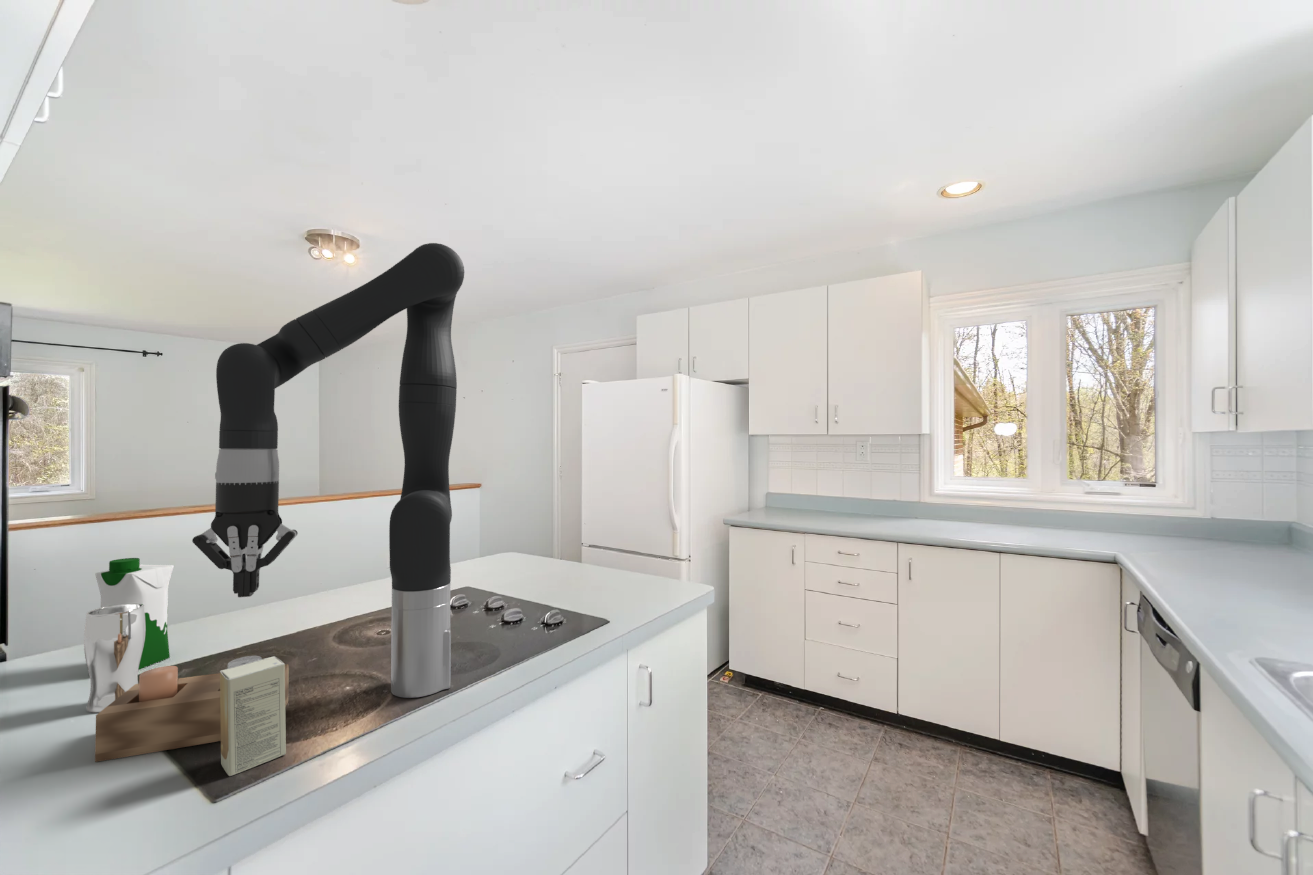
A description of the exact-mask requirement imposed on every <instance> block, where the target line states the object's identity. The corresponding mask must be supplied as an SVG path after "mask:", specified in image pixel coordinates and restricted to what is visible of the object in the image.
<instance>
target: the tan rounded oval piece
mask: <svg viewBox="0 0 1313 875" xmlns="http://www.w3.org/2000/svg"><path fill="white" fill-rule="evenodd" d="M178 671H179V667H178V666H175V665H164V666H159V667H155V668H151V669H147V670H145V671H143V672H141V673H140V674H138V676H139V678H138V684H139V702H144V701H151V700H158V699H165V698H172V697H174V696H175V695H176V694H177V684H178V678H179V677H178V676H179V675H178V674H179V673H178Z"/></svg>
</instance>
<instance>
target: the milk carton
mask: <svg viewBox="0 0 1313 875" xmlns="http://www.w3.org/2000/svg"><path fill="white" fill-rule="evenodd" d="M140 563H141V562H140V558H138V557H127V558H118V559H113V560H110V561H109V562H108V570H104V571H103V570H102V571H100V572H95V579H96V582H97V586H98V590H99V594H100V608H102V607H106V606H112V605H118V604H128V603H141V604H144V612H145V624H146V632H145V642H144V647H143V652H142V656H141V660H140V664H139V669H138V671H139V670H142V669H145V668H146V667H149V666H152V665H155V664H157V663H160V662H162V661H165V660H167V659H169V658H170V657H171V656H170V654H171V653H170V644H169V634H168V618H169V617H168V612H169V605H168V603H169V602H168V601H169V587H170V586H169V584H170V581H171V577H172V574H173V570H174V568H175V565H174V564H142V563H141V564H140Z"/></svg>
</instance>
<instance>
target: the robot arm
mask: <svg viewBox="0 0 1313 875" xmlns="http://www.w3.org/2000/svg"><path fill="white" fill-rule="evenodd" d="M464 279H465V266H464V263H463V260H462V258H461V257H460V255H459V253H457V252H456V251H455V250H454V249H453V248H451V247H449V246H448V245H445V244H441V243H437V242H429V243H424V244H422V245H420V246H418V247H416V248H415V249H414V250H412V252H410V253H408V255H405V257H403V259H401V260H399V261H398V262H397V263H395V264H394V265H393V266H391V267H390V268H389V269H387V270H385V271H384V272H383V273H381V274H380V275H378V276H376V277H374V278H373V279H371V280H370V281H368V282H366V283H364V284H361V286H359V287H357V288H355V289H353V290H350V291H349V292H347V293H345V294H343V295H341V296H339V297H336V298H335V299H333V300H330V301H328V302H326V303H325V304H322V305H320V306H318V307H316V308H315V309H314V308H313V310H310V311H308V312H306V313H304V314H302V315H300V316H298V317H296V318H294V319H292V320H290V321H288V322H287V323H285V324H283V326H281V328H280V329H279V331H278V332H277V333H276V334H275V335H272V336H271V337H269V338H267V339H265V340H263V341H261V342H260V343H257V344H254V343H247V342H240V343H236V344H235V343H234V344H232V345H231V346H228V347H227V348H225V349H224V350H223V351H222V352H221V354H220V355H219V357H218V359H217V363H216V371H215V372H216V373H215V376H216V389H217V391H216V392H217V398H218V399H217V400H218V404H219V410H220V411H219V412H220V422H219V431H218V432H219V435H218V436H219V438H218V439H219V440H218V455H217V459H216V465H215V466H216V467H215V468H216V469H215V474H214V479H215V508H214V509H215V510H214V511H215V512H214V513H215V514H214V518H213V520H212V521H211V523H210V528H208V529H207V530H206V531H204V532H202V533H201V534H198V535H196V536H194V537H193V538H192V540H191V541H192V544H194V546H196V548H198V550H200V552H202V553H203V555H205V556H206V558H208V559H209V560H210V561H211V562H212V563H213V564H214V565H215V566H216V568H217V569H220V570H224V569H225V570H229V571H230V572H232V575H233V576H232V578H233V579H232V581H233V583H232V591H233V593H234V595H235V594H237V598H246V597H247V598H248V597H252V596H253V595H254V594H255V592H257V591H258V590H259V587H260V570H261V568H264V567H267V566H269V565H270V564H272V563H273V562H274V561H275V560H276V559H277V558H278V557H279V556H280V555H281V554H282V552H284V550H285V549H286V548H287V547H288V546H289V545H290V544H291V542H292V541H294V539H295V538H296V537H297V536H298V534H299V533H298V531H297V530H296V529H291V528H289V527H287V526H286V525H284V524H283V519H282V516H280V514H279V513H280V512H279V500H280V499H279V496H280V495H279V493H280V492H279V491H280V490H279V489H280V461H279V460H280V459H279V453H278V452H279V451H278V444H279V442H278V441H279V436H278V435H279V433H278V432H279V424H278V419H277V415H276V412H275V398H276V397H275V396H276V392H275V390H276V389H277V388H279V387H281V386H282V385H284V384H285V383H287V382H289V381H290V380H292V379H293V378H295V376H296V377H297V375H299V374H301V373H302V372H303V371H304V370H306V369H307V368H309V367H311V366H312V365H314V364H316V363H318V362H322V361H323V360H325V359H326V358H329V357H331V356H332V355H334V354H336V353H338V352H340V351H342V350H343V349H345V348H347V347H349V346H350V345H352V344H354V343H356V342H357V341H358V340H360V339H361V338H363V337H364V336H366V335H367V334H369V333H370V332H372V331H373V330H375V329H376V328H378V327H379V326H380V325H381V324H384V322H386V321H387V320H389V319H390V318H392V317H393V316H396V315H397V314H399V313H400V312H402V311H404V310H406V327H407V328H406V336H405V343H404V347H403V353H402V360H401V367H400V375H399V385H398V386H399V388H398V390H399V391H398V419H399V427H400V428H399V429H400V436H401V443H402V449H403V455H404V456H403V457H404V467H403V468H404V471H403V480H402V486H401V487H402V488H401V494H400V499H399V500H398V501H397V503H396V504H395V505H394V506H393V509H392V510H391V513H390V517H389V525H388V526H389V530H388V532H389V536H388V538H389V540H388V541H389V544H388V546H389V572H390V575H391V628H390V629H391V630H390V631H391V635H390V636H391V643H390V644H391V645H390V648H391V649H390V651H391V652H390V659H391V660H390V662H391V663H390V692H391V694H392V695H394V696H395V697H398V698H408V699H409V698H410V699H411V698H420V697H427V696H430V695H433V694H436V693H438V692H440V691H444V690H448V689H450V688H451V677H452V676H451V671H452V670H451V665H452V664H451V662H452V659H451V658H452V657H451V656H452V655H451V653H452V649H451V648H452V645H451V644H452V641H451V640H452V639H451V638H452V637H451V636H452V631H451V630H452V629H451V583H452V582H451V579H452V576H451V574H452V570H451V569H452V568H451V558H450V555H451V554H450V551H451V548H450V547H451V545H450V544H451V541H450V540H451V536H450V535H451V522H452V518H453V511H452V510H453V509H452V504H451V502H452V501H451V493H450V492H451V491H450V476H449V474H450V472H449V470H450V469H449V467H450V454H451V450H452V442H453V438H454V430H455V419H456V410H457V387H458V385H457V381H458V380H457V368H456V362H455V355H454V350H453V344H452V323H453V314H454V307H455V301H456V297H457V294H458V292H459V291H460V290H461V289H460V288H461V287H462V285H463V283H464ZM276 532H277V535H276V536H275V539H276V540H277V542H276V544H274V546H273V547H272V548H271V549H270V550H269V551H268V553H266V555H264V557H262V553H263V551H264V545H265V544H267V543H268V541H269V540H270V539H271V538H272V537H273V536H274V534H276ZM218 538H219V539H220V540H221V541H222V543H223V544H224V545H225V546H226V547H228V551H229V552H228V553H229V555H228V553H226V552H225V550H224V549H223V548H221V546H220V545H219V544H218V543H217V542H218Z"/></svg>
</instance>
